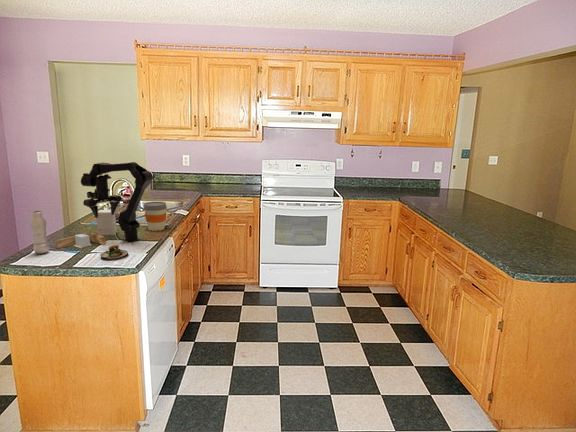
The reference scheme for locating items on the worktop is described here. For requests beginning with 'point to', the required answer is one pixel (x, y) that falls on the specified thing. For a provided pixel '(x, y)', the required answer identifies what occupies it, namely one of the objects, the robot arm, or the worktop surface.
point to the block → (82, 240)
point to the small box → (106, 223)
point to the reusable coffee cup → (155, 215)
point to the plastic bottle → (39, 233)
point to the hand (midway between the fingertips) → (104, 216)
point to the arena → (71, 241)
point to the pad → (80, 246)
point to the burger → (113, 252)
